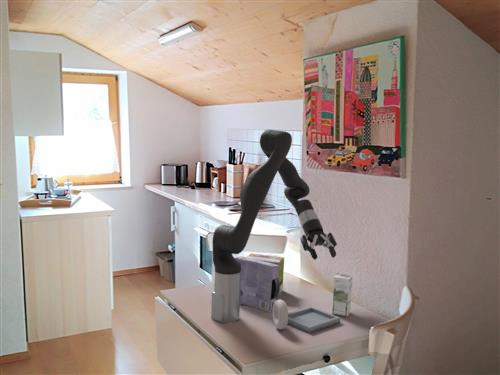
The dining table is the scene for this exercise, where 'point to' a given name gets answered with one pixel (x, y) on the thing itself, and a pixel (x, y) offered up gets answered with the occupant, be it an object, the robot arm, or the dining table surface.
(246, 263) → the cake pan box
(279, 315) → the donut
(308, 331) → the tray
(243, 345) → the dining table surface
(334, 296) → the syrup box
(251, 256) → the tea box
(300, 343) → the dining table surface
